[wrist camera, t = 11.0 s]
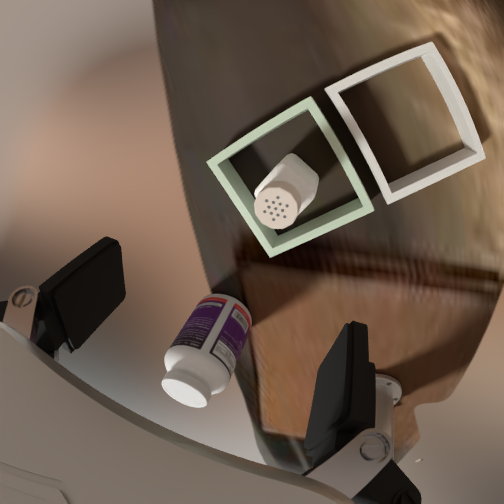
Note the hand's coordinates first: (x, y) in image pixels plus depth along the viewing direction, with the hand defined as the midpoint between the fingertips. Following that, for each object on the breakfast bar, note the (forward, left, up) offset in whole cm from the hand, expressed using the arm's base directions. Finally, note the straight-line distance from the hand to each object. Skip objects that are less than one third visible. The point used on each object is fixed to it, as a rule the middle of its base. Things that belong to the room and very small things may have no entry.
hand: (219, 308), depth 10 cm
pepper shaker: (0, 0, -20) cm, 20 cm away
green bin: (0, 0, -20) cm, 20 cm away
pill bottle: (-12, +18, -20) cm, 30 cm away
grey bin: (0, -13, -20) cm, 24 cm away
